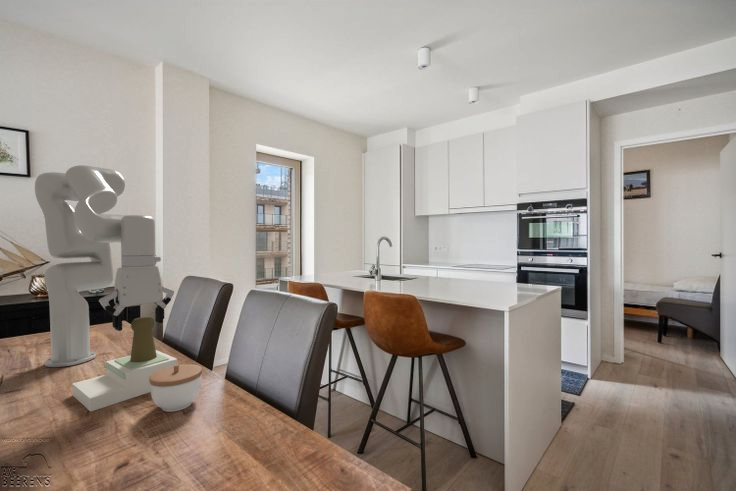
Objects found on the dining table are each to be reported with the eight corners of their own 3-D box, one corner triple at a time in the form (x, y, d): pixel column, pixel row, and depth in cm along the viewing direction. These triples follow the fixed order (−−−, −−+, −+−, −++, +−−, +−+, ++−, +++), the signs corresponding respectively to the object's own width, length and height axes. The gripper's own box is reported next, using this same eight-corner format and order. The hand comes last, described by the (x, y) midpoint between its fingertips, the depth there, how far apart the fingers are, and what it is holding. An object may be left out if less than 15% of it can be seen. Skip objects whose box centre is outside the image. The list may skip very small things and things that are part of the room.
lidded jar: (176, 420, 74) (175, 376, 74) (138, 413, 77) (137, 371, 77) (212, 397, 85) (211, 359, 84) (177, 392, 88) (176, 355, 87)
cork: (144, 363, 90) (143, 320, 90) (124, 361, 91) (123, 319, 91) (162, 355, 96) (161, 315, 96) (143, 354, 97) (141, 314, 97)
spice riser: (72, 395, 87) (71, 368, 87) (155, 371, 102) (155, 348, 102) (90, 411, 78) (89, 381, 78) (178, 383, 94) (177, 357, 93)
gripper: (167, 259, 102) (167, 317, 102) (94, 263, 88) (95, 330, 88) (179, 260, 97) (179, 321, 98) (104, 265, 83) (105, 336, 84)
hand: (139, 326), depth 93 cm, fingers open, 9 cm apart
